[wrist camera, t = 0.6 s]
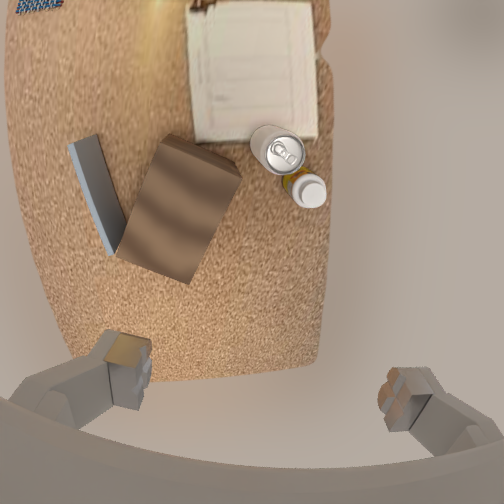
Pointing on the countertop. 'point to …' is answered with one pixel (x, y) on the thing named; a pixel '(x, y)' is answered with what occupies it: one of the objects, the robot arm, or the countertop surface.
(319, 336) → the countertop surface
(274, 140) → the can
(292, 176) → the supplement bottle
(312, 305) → the countertop surface
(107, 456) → the robot arm
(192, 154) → the crate
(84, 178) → the flap
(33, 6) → the woven mat
